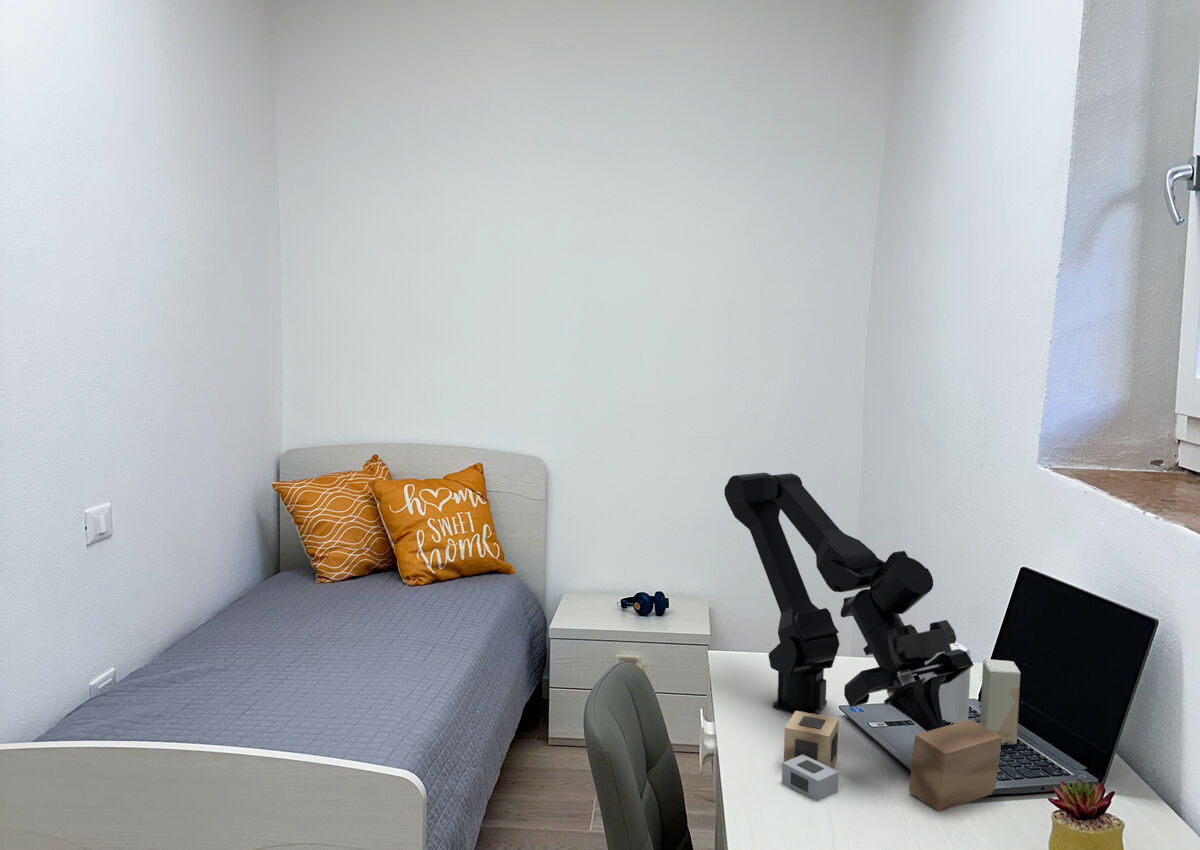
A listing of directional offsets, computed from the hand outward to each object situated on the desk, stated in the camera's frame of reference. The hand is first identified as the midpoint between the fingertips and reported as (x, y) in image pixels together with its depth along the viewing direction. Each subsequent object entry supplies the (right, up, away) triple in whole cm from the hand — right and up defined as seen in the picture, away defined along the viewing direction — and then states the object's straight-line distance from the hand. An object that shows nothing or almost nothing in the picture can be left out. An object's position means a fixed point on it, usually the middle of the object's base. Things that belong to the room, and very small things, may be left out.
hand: (940, 737), depth 128 cm
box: (+13, -5, +15) cm, 20 cm away
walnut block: (+1, -7, -1) cm, 7 cm away
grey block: (-17, -7, +1) cm, 18 cm away
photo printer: (+7, -4, +23) cm, 24 cm away
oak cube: (-15, -6, +7) cm, 18 cm away
